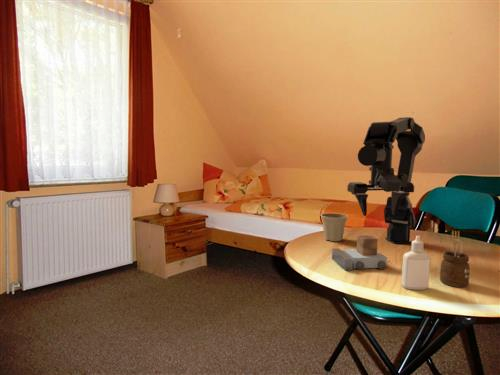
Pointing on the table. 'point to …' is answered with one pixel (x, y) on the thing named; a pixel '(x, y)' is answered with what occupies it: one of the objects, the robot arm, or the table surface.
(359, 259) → the cart
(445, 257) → the utensil holder
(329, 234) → the flower pot
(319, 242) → the table surface
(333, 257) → the buffer
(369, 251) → the block
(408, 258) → the eye dropper bottle
